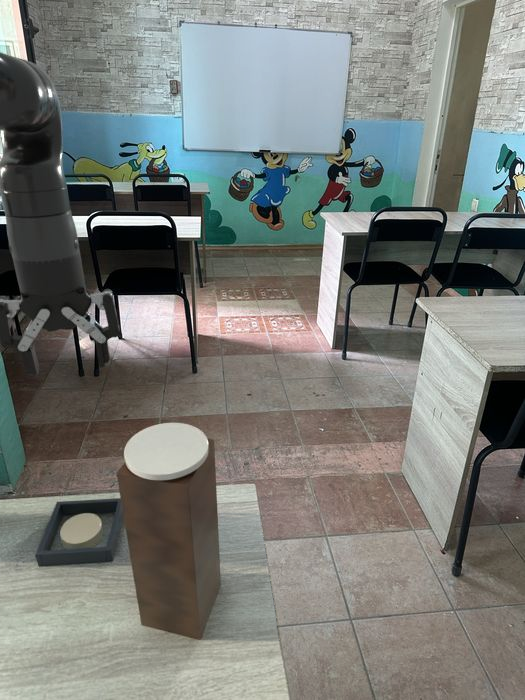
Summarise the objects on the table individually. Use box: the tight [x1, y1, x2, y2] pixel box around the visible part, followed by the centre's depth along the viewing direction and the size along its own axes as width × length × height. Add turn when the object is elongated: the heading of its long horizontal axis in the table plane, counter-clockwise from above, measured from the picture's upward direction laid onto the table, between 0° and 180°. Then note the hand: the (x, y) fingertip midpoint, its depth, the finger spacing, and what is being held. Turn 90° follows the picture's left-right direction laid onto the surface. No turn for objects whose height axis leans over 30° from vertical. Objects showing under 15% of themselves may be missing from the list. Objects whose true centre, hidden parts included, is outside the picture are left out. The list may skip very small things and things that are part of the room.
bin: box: [35, 497, 124, 568], centre depth 73 cm, size 10×10×4 cm
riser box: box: [116, 437, 222, 641], centre depth 58 cm, size 8×8×26 cm
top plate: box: [59, 513, 104, 549], centre depth 73 cm, size 6×6×2 cm
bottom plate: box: [123, 422, 209, 480], centre depth 52 cm, size 9×9×1 cm
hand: (69, 368), depth 65 cm, fingers open, 8 cm apart
